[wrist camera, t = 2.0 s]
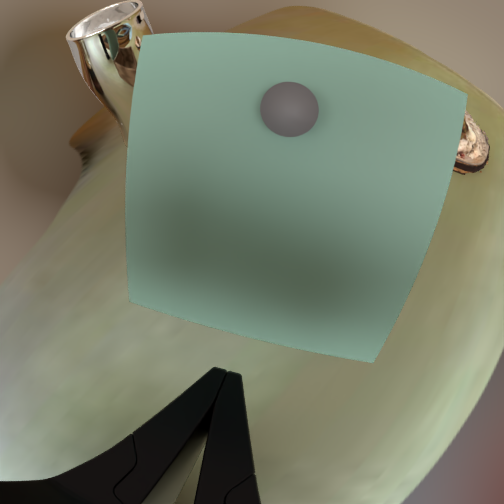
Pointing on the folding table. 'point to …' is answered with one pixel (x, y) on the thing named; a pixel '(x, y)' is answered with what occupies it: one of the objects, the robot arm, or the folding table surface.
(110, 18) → the beer glass
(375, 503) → the folding table surface
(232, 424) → the robot arm
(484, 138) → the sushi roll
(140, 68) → the lid
